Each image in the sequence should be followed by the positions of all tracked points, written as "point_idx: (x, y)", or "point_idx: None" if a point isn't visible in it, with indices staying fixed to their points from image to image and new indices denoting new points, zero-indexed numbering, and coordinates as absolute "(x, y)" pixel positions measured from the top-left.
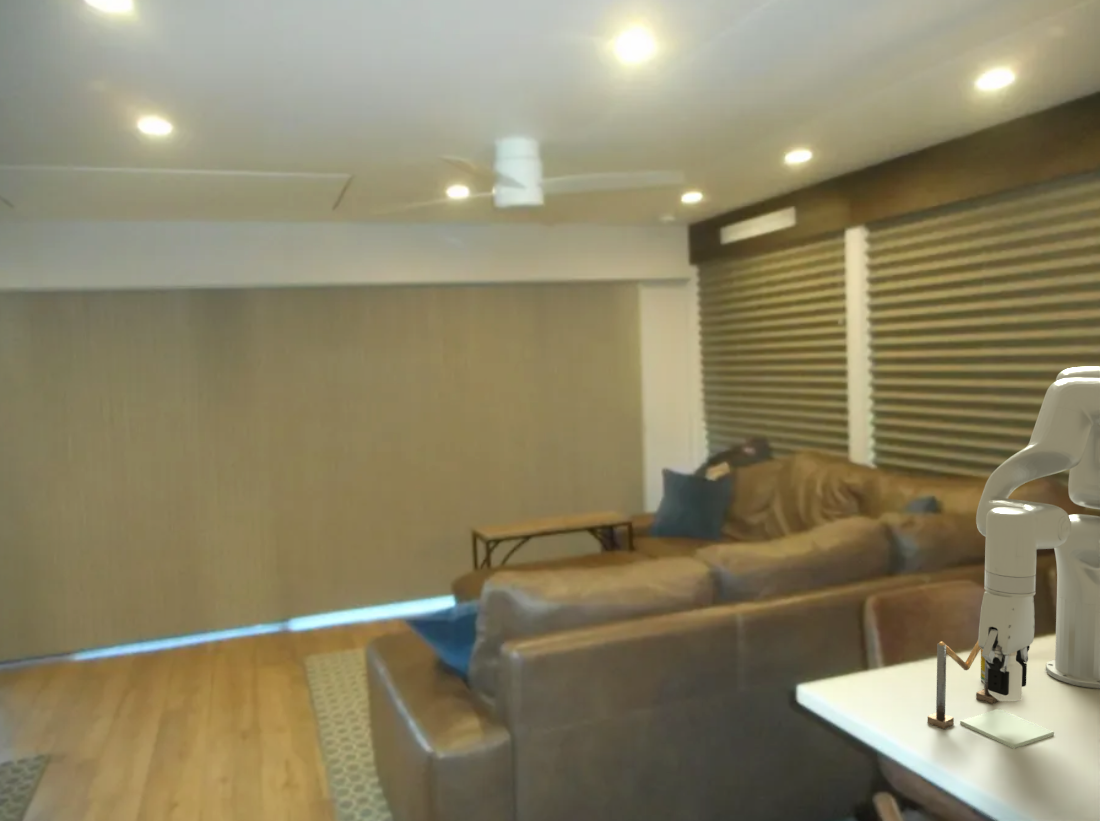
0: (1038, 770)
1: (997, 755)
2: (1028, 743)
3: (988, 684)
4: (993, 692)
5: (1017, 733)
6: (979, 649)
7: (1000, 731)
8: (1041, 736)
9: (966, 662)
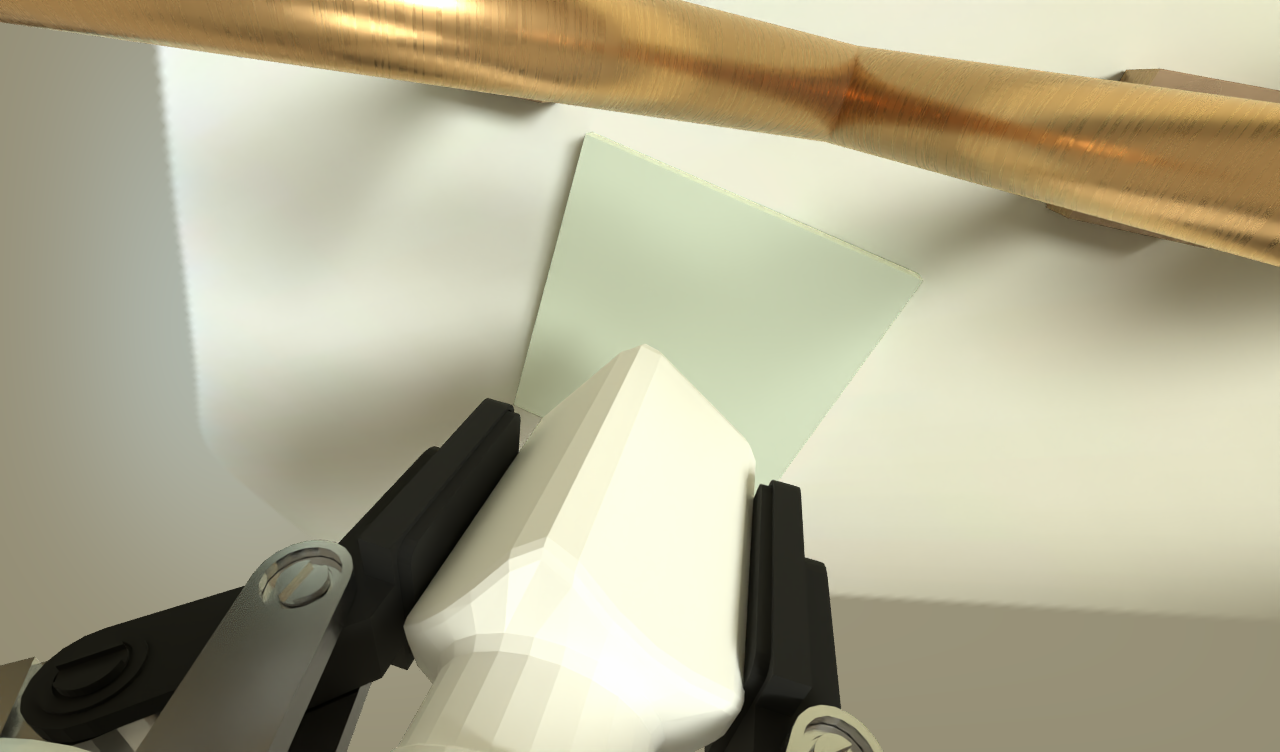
0: None
1: (422, 357)
2: None
3: (468, 422)
4: (566, 401)
5: None
6: None
7: (600, 342)
8: None
9: (878, 92)
